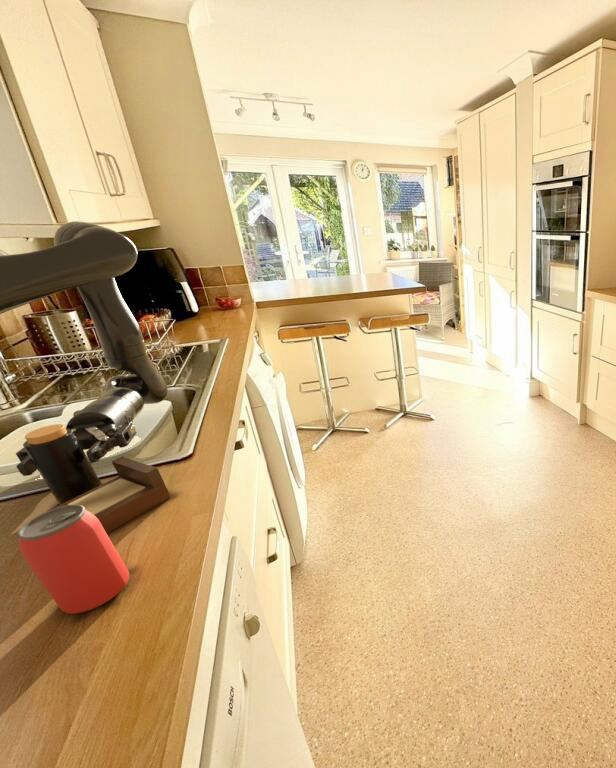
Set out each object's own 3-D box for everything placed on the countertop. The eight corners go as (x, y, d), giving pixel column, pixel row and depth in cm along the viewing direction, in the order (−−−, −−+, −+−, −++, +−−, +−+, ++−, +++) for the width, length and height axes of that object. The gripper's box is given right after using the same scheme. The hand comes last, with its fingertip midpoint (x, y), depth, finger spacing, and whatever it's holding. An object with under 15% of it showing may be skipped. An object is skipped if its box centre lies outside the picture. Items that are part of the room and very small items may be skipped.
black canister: (53, 503, 70) (11, 436, 64) (94, 484, 74) (58, 420, 69) (70, 511, 68) (29, 443, 62) (111, 491, 72) (76, 425, 67)
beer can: (135, 590, 53) (93, 517, 48) (64, 627, 48) (9, 551, 43) (127, 563, 57) (87, 494, 52) (60, 596, 52) (9, 523, 48)
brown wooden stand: (55, 526, 64) (36, 495, 62) (136, 484, 74) (122, 456, 71) (90, 543, 61) (71, 511, 58) (171, 497, 70) (157, 467, 68)
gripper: (47, 411, 77) (-14, 455, 63) (140, 396, 82) (102, 434, 68) (66, 445, 80) (12, 495, 66) (155, 429, 85) (122, 472, 71)
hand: (58, 464), depth 67 cm, fingers open, 8 cm apart
